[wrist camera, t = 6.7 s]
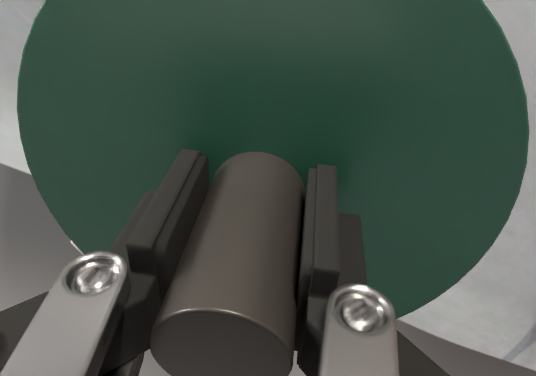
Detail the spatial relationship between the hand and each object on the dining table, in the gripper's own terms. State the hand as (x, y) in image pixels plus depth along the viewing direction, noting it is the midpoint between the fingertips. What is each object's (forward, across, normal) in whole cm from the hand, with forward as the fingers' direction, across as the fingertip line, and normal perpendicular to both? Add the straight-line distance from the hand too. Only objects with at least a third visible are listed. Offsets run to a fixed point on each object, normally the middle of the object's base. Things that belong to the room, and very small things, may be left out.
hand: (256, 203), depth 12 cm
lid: (+1, 0, 0) cm, 1 cm away
